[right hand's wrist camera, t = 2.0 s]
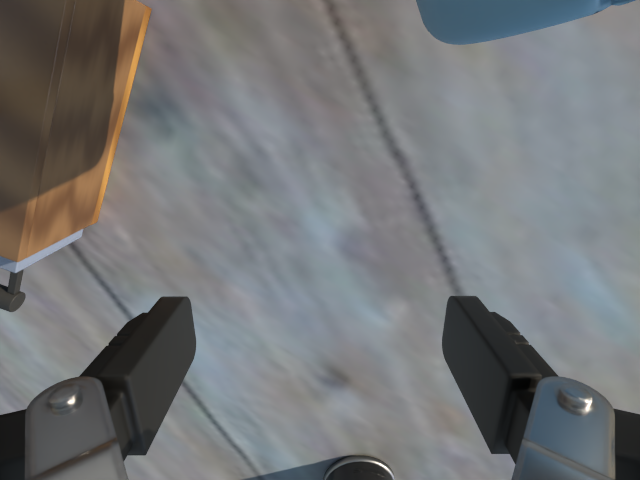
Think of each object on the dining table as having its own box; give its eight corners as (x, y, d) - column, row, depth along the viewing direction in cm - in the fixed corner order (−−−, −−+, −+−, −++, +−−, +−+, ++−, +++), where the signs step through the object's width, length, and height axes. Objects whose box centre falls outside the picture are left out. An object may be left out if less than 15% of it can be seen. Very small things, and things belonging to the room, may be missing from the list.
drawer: (70, 282, 37) (5, 328, 29) (-23, 247, 35) (-116, 286, 28) (129, 39, 29) (62, 16, 22) (14, -16, 28) (-101, -62, 20)
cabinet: (97, 222, 36) (17, 263, 26) (-12, 178, 34) (-137, 205, 25) (151, 9, 29) (72, -37, 20) (21, -56, 28) (-131, -138, 18)
